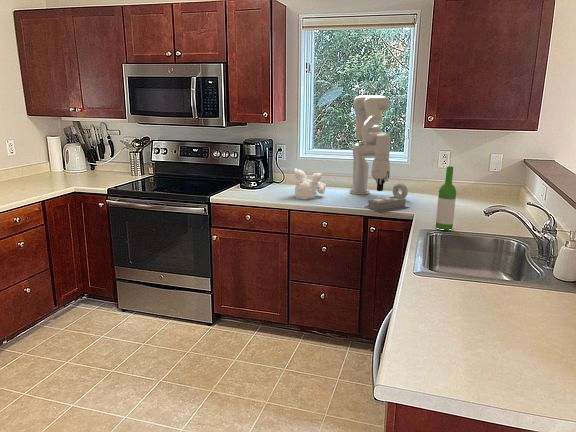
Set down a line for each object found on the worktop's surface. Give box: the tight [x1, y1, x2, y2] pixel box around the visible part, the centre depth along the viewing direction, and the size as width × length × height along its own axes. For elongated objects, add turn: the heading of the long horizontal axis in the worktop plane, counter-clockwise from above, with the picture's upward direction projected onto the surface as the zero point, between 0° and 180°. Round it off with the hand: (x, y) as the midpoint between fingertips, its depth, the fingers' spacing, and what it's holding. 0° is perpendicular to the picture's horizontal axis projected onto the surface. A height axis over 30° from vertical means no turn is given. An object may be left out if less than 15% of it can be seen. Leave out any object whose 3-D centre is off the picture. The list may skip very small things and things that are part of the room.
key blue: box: [381, 196, 393, 201], centre depth 269 cm, size 4×4×3 cm
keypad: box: [363, 195, 410, 214], centre depth 269 cm, size 14×20×5 cm
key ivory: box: [372, 198, 384, 203], centre depth 266 cm, size 4×4×3 cm
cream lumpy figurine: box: [293, 167, 327, 201], centre depth 292 cm, size 19×20×20 cm
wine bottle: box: [435, 165, 457, 230], centre depth 226 cm, size 8×8×30 cm
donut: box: [392, 182, 409, 199], centre depth 289 cm, size 10×4×10 cm, turn 43°
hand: (379, 190), depth 264 cm, fingers closed
